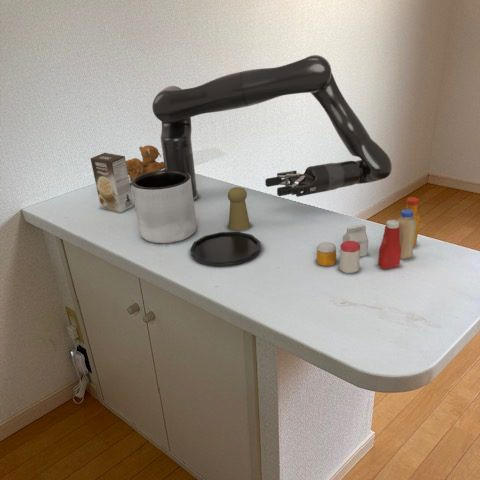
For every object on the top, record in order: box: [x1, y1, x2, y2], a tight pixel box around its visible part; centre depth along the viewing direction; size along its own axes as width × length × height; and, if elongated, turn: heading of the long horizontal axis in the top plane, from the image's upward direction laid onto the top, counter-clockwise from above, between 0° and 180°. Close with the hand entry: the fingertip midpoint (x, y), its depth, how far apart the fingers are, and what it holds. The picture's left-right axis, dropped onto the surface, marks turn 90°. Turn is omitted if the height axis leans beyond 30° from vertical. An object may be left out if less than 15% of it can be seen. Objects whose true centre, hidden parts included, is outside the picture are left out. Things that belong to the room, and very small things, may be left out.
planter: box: [130, 169, 198, 244], centre depth 140 cm, size 16×16×16 cm
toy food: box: [316, 196, 421, 274], centre depth 121 cm, size 27×13×12 cm, turn 104°
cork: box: [227, 186, 251, 232], centre depth 143 cm, size 6×6×11 cm
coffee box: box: [90, 152, 134, 213], centre depth 160 cm, size 9×6×16 cm
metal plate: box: [190, 231, 262, 268], centre depth 133 cm, size 18×18×1 cm
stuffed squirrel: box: [126, 144, 165, 183], centre depth 177 cm, size 10×14×13 cm
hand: (271, 187), depth 143 cm, fingers open, 8 cm apart
